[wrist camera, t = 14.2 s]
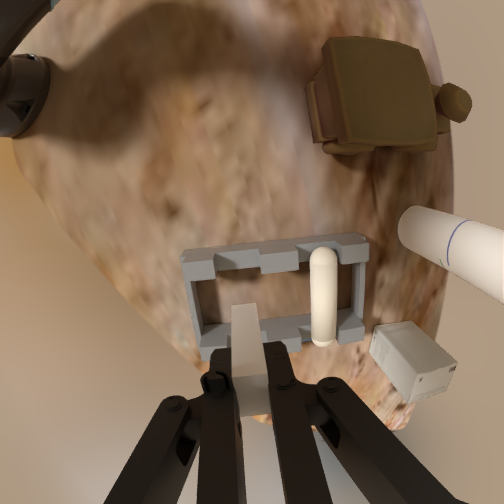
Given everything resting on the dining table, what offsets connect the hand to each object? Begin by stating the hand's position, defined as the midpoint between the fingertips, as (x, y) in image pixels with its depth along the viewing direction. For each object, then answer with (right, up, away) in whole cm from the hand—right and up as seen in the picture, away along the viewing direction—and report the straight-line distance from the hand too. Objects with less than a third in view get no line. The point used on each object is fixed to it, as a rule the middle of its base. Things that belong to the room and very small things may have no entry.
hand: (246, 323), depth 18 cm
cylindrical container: (+26, +8, +22) cm, 35 cm away
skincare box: (+25, -10, +28) cm, 39 cm away
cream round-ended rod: (+9, -2, +21) cm, 23 cm away
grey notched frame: (+4, -1, +24) cm, 24 cm away
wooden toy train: (+16, +24, +18) cm, 34 cm away
